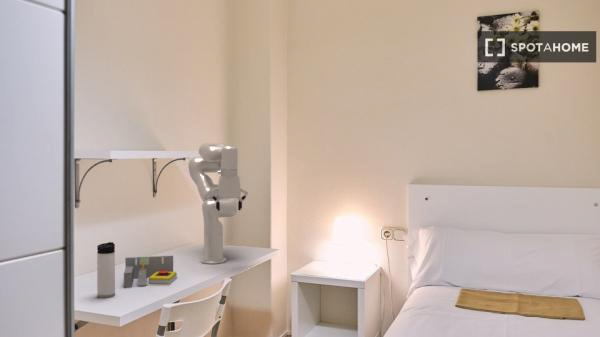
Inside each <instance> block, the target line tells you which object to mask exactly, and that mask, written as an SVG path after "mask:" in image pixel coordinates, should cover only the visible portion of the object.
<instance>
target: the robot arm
mask: <svg viewBox="0 0 600 337" xmlns="http://www.w3.org/2000/svg"><path fill="white" fill-rule="evenodd" d="M198 155H199V156H197V157H193V158H191V159H190V160H189V162H188V165H187V166H188V172H189V176H190V178H191V180H192V181H193V182H194V184H195V185H196V188H197V190H198V193H199V194H198V195H199V196H200V199H201V200H202V201H203V203H202V205H201V210H202V217H203V257H202V258H201V259H200V262H201V263H202V264H210V265H211V264H212V265H213V264H214V265H217V264H223V263H225V262H226V261H227V258H226V257H224V225H223V222H221V220H219V218H228V217H230V218H231V217H234V216H235V215H236V214H237V213H238V210H239V211H241V210H242V209H243V201H244V200H245V199H246V197H247V196H248V195H249V193H248V191H246V190H245V189H242V188H241V180H240V179H241V178H240V175H239V176H238V158H239V157H238V148H237V147H236V146H228V145H225V144H224V143H221V142H220V143H219V142H218V143H217V142H206V143H203V144H201V145H200V146H199V148H198ZM208 173H210V174H211V173H217V174H219V175H220V176H219V178H218V183H217V184H216V183H215V184H214V182H213V179H212V178H211V177H210V176H209V175H208ZM242 193H243V195H242V196H241V194H242ZM236 199H237V200H238V202H237V200H236Z"/></svg>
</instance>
